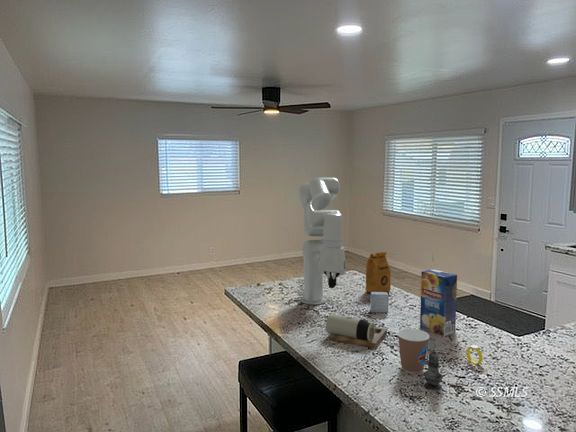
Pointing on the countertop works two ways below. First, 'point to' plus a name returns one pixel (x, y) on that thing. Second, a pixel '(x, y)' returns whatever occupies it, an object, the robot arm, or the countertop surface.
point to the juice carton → (438, 301)
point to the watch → (478, 354)
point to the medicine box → (379, 302)
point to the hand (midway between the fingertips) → (332, 287)
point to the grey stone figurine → (433, 373)
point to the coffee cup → (412, 349)
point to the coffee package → (377, 273)
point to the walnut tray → (378, 337)
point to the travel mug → (350, 327)
